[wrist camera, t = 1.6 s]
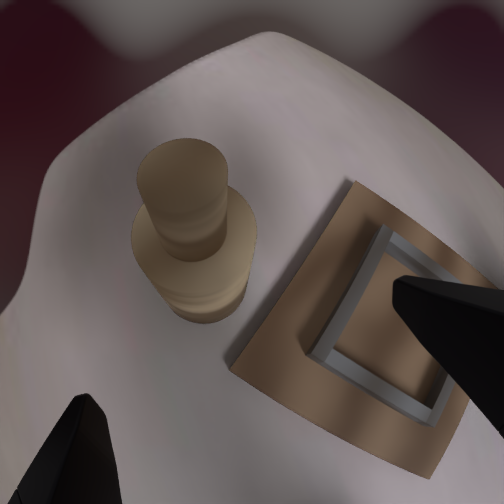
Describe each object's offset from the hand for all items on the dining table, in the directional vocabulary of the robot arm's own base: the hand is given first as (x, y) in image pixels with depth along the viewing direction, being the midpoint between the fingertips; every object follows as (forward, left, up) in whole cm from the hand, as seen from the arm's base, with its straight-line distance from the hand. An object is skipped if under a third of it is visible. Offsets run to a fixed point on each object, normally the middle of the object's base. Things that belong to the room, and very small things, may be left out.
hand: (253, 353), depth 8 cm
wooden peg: (+5, -4, -13) cm, 15 cm away
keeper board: (-9, -9, -13) cm, 18 cm away
